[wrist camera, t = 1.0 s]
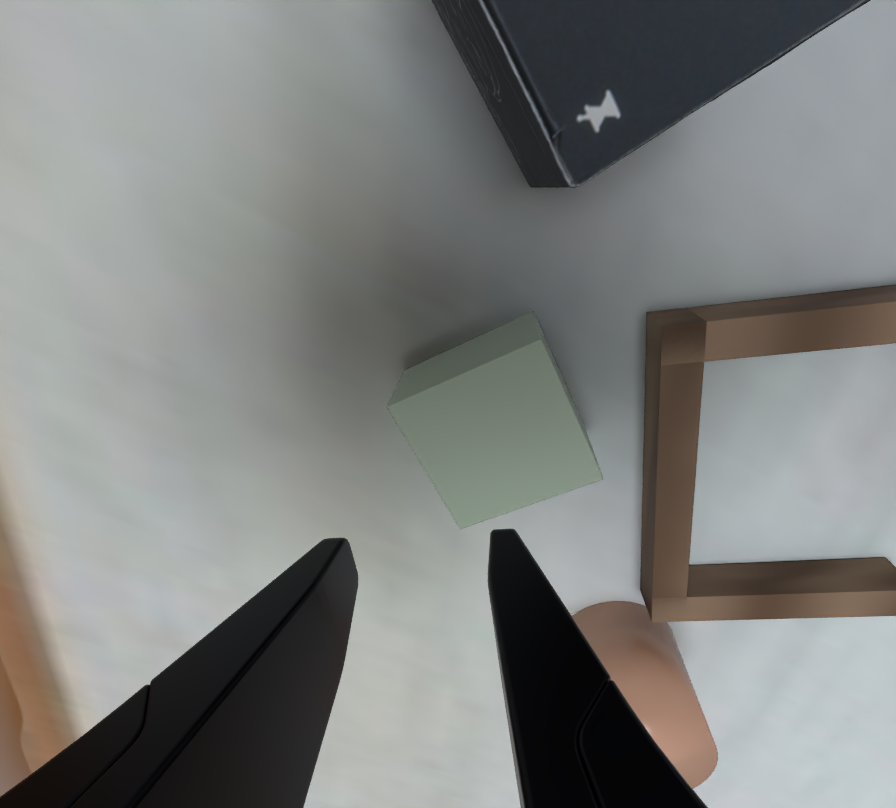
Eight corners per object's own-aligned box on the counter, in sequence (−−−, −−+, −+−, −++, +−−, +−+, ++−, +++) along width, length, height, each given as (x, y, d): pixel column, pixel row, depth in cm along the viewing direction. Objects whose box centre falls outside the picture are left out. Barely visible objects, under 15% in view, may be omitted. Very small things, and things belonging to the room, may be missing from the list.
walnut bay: (963, 277, 18) (1016, 288, 16) (878, 581, 24) (910, 615, 22) (647, 312, 19) (662, 326, 18) (640, 590, 25) (651, 622, 23)
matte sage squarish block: (532, 309, 20) (540, 339, 16) (586, 429, 22) (603, 479, 18) (405, 368, 22) (386, 407, 18) (465, 475, 24) (459, 529, 20)
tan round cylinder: (675, 598, 25) (723, 713, 20) (670, 678, 28) (712, 800, 22) (556, 602, 26) (571, 713, 21) (561, 679, 29) (576, 797, 23)
